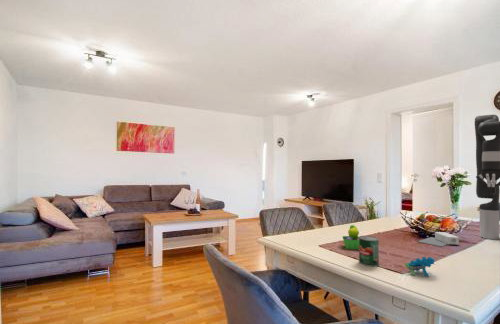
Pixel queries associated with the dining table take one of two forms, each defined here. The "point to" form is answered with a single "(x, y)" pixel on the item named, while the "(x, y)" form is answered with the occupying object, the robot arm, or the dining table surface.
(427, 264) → the toy dinosaur
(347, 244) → the fruit basket
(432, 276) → the dining table surface
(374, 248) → the canned tomato
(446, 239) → the skincare box
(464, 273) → the dining table surface
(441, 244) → the mat
